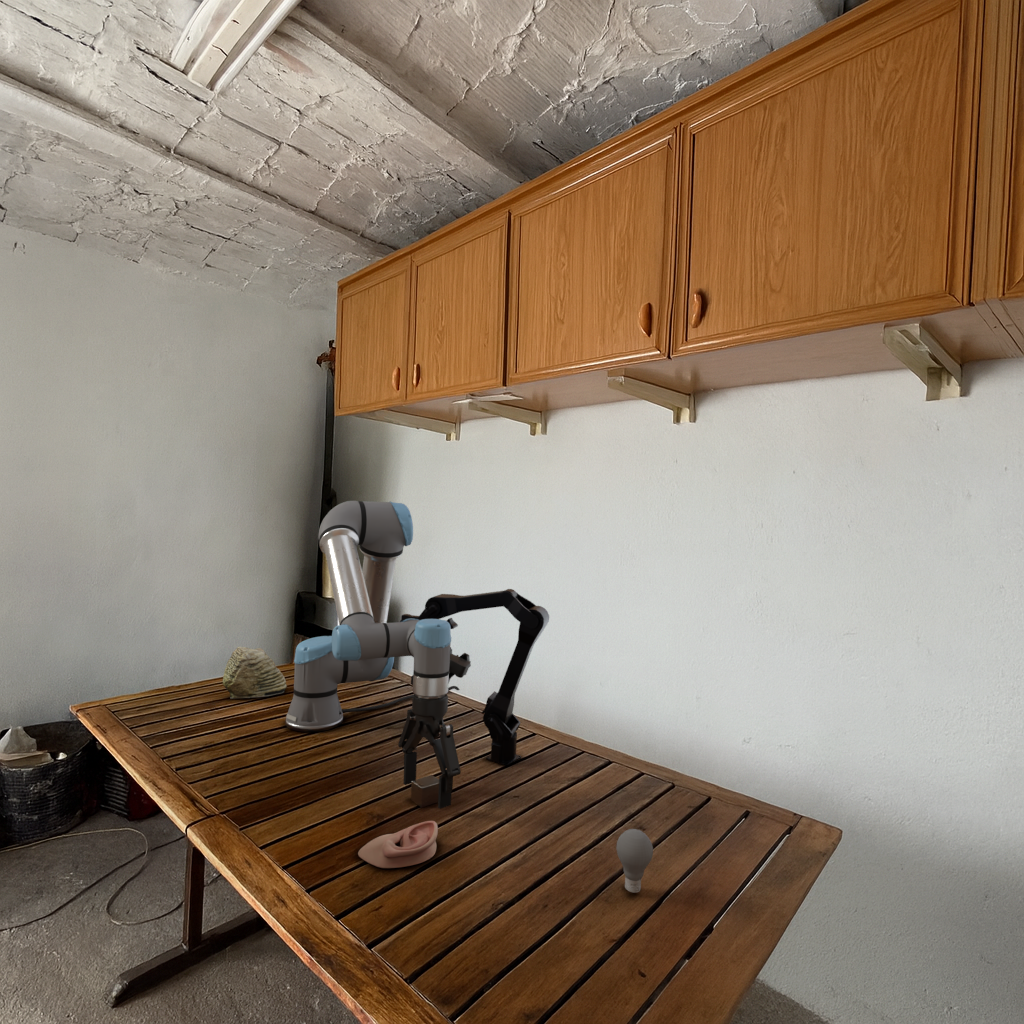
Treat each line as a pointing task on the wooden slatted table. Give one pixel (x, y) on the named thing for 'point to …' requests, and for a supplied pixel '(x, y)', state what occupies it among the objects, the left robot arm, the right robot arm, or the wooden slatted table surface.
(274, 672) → the fossil
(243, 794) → the wooden slatted table surface
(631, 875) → the light bulb
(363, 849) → the anatomical model
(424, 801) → the block
